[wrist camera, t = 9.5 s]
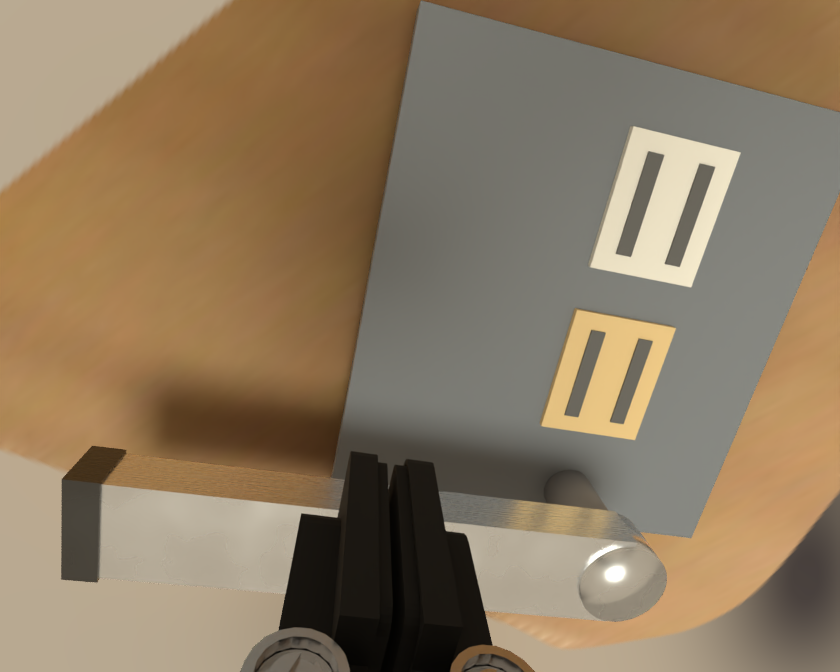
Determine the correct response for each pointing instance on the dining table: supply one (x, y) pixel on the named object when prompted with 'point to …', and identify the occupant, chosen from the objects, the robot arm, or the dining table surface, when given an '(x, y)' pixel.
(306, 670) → the robot arm
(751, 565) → the dining table surface
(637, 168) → the label board
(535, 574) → the bar
